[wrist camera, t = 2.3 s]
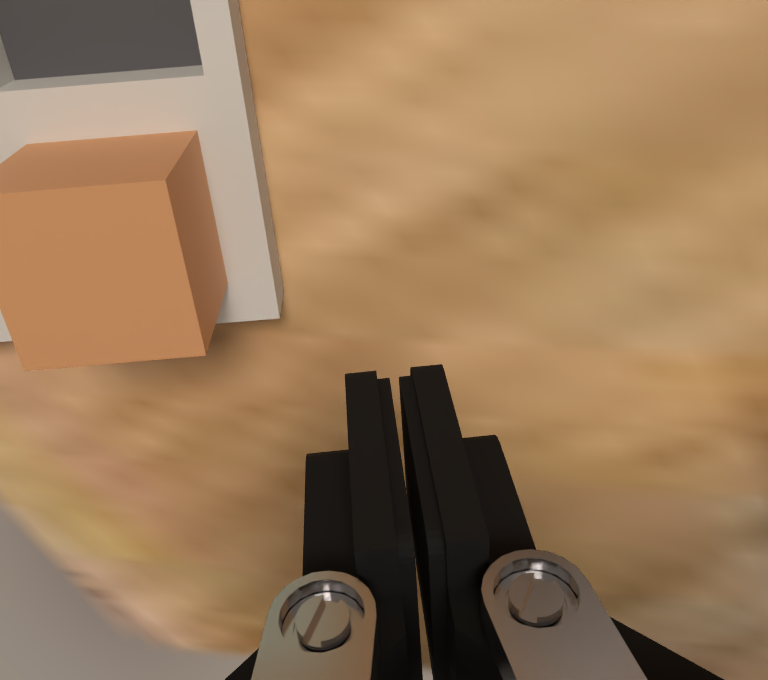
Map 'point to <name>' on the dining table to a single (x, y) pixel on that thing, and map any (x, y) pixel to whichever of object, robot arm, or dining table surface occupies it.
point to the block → (109, 251)
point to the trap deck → (150, 108)
